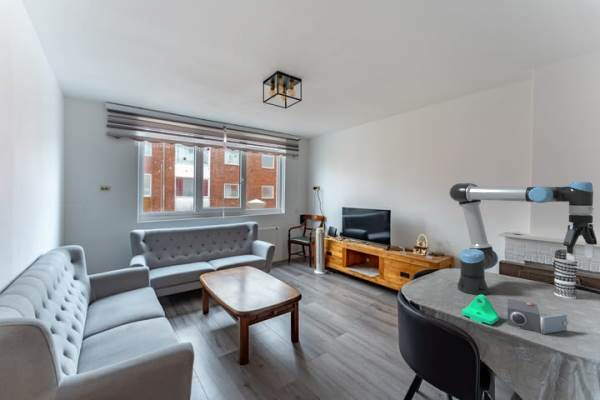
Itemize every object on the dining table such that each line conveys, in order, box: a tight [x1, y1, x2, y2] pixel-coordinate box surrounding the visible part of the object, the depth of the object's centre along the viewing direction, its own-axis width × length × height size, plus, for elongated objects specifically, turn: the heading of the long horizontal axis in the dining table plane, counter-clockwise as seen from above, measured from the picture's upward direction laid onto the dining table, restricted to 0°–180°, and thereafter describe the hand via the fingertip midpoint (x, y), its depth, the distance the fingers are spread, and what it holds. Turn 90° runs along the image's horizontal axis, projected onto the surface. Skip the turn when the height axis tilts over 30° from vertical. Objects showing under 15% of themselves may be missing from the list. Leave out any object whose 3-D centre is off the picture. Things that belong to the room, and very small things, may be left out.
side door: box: [540, 313, 569, 335], centre depth 100 cm, size 1×12×7 cm, turn 99°
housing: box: [507, 298, 541, 334], centre depth 108 cm, size 10×13×8 cm
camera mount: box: [461, 295, 500, 325], centre depth 113 cm, size 12×8×10 cm, turn 33°
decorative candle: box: [552, 248, 578, 300], centre depth 135 cm, size 9×9×25 cm
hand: (580, 258), depth 117 cm, fingers open, 13 cm apart
